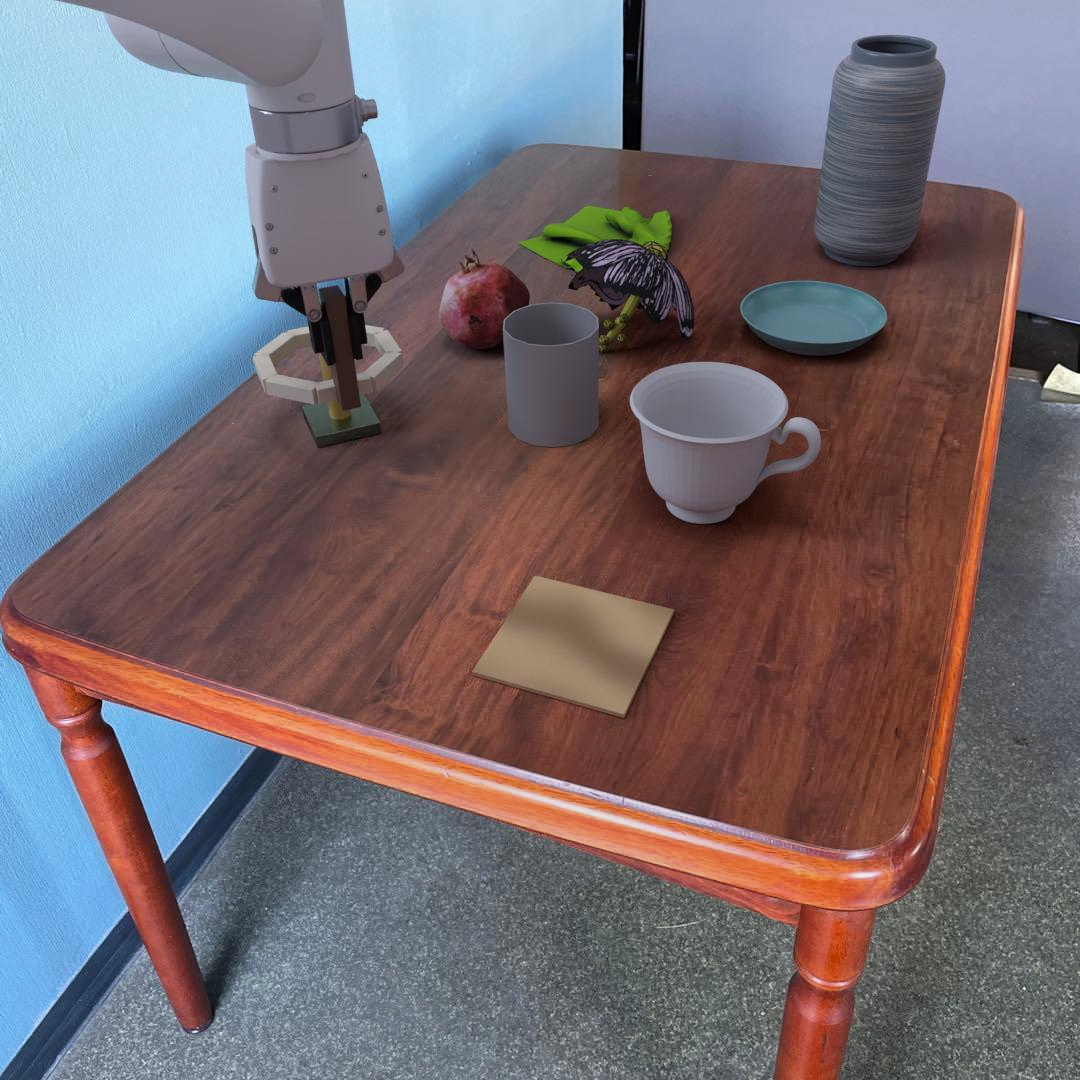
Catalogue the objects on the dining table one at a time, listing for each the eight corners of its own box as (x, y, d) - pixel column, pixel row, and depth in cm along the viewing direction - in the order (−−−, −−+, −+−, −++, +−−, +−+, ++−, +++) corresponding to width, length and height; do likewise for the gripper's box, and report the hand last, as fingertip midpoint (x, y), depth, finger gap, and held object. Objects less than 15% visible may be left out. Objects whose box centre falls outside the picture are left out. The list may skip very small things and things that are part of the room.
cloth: (580, 289, 122) (580, 269, 120) (496, 227, 137) (495, 208, 136) (728, 251, 129) (730, 231, 127) (633, 196, 144) (633, 178, 143)
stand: (317, 448, 97) (294, 327, 90) (303, 416, 101) (280, 299, 94) (382, 433, 99) (364, 313, 91) (365, 403, 103) (347, 286, 96)
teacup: (784, 575, 81) (800, 464, 75) (603, 525, 86) (604, 419, 80) (827, 491, 89) (844, 385, 83) (659, 451, 95) (664, 349, 89)
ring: (248, 351, 99) (225, 247, 93) (378, 326, 102) (365, 224, 96) (278, 425, 88) (255, 312, 82) (422, 393, 92) (411, 283, 86)
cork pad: (624, 718, 70) (624, 714, 70) (472, 675, 74) (471, 671, 73) (674, 613, 78) (674, 609, 78) (534, 579, 81) (534, 575, 81)
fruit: (548, 332, 114) (545, 242, 107) (496, 370, 107) (490, 276, 101) (478, 313, 118) (472, 225, 112) (424, 349, 112) (414, 257, 105)
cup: (497, 441, 97) (491, 341, 91) (520, 396, 103) (515, 299, 97) (589, 451, 95) (588, 349, 89) (606, 404, 101) (607, 306, 95)
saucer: (914, 344, 109) (919, 320, 107) (797, 381, 104) (800, 356, 102) (821, 291, 119) (824, 268, 118) (710, 321, 114) (711, 298, 113)
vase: (792, 255, 127) (817, 47, 113) (842, 225, 134) (871, 26, 120) (882, 280, 121) (919, 64, 107) (929, 248, 128) (971, 40, 114)
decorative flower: (744, 259, 103) (598, 232, 98) (715, 379, 106) (573, 357, 102) (685, 245, 116) (555, 220, 112) (662, 352, 120) (534, 332, 115)
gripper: (397, 98, 82) (419, 319, 93) (187, 126, 78) (237, 355, 89) (426, 124, 77) (446, 356, 88) (202, 155, 72) (253, 396, 83)
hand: (341, 354), depth 88 cm, fingers closed on ring
